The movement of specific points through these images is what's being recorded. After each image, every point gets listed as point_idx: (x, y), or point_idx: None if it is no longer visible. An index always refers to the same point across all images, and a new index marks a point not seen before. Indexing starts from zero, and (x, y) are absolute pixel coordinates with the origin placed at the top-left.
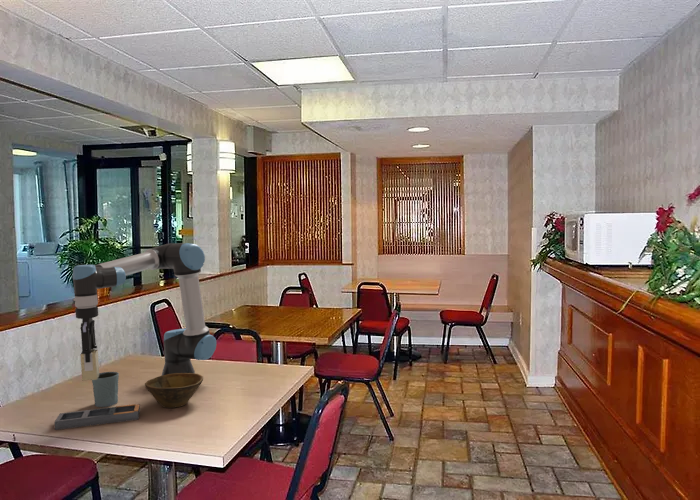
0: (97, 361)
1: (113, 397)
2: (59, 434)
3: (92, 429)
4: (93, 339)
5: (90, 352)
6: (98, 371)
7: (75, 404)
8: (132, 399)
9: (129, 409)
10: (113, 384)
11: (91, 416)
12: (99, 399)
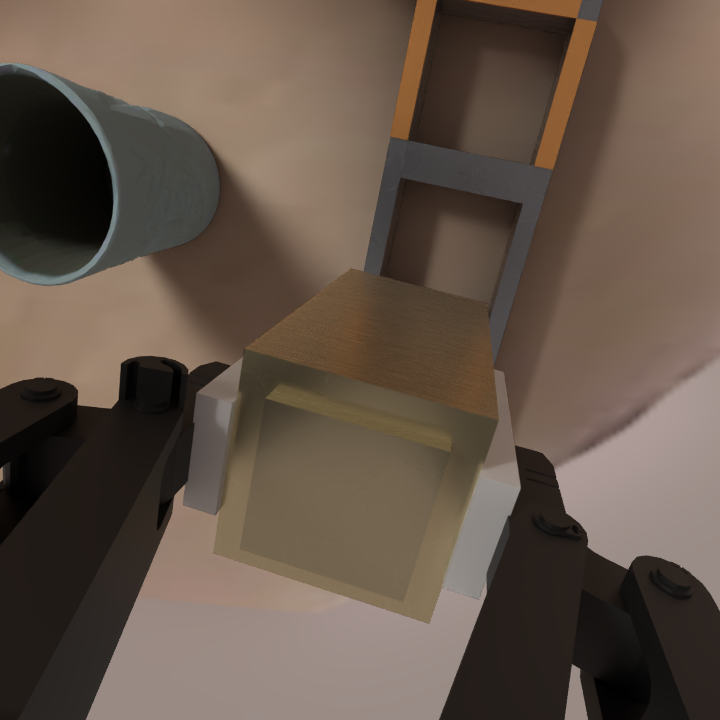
0: (372, 322)
1: (184, 138)
2: (545, 445)
3: (583, 294)
4: (113, 523)
5: (579, 530)
6: (374, 286)
7: (106, 336)
8: (149, 14)
9: (430, 50)
10: (133, 126)
11: (495, 299)
12: (188, 227)
